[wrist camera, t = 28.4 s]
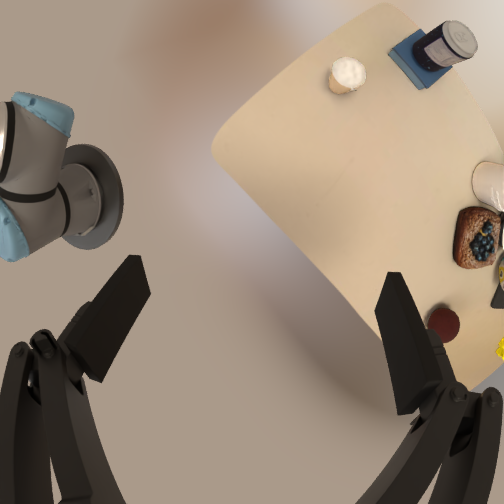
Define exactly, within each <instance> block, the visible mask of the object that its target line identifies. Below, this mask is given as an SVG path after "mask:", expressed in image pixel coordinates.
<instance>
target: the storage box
mask: <svg viewBox="0 0 504 504" xmlns="http://www.w3.org/2000/svg"><path fill="white" fill-rule="evenodd" d="M425 35H426V34H425V33H424V32H423V31H422V29H419V30H418V31H416V32H415V33H413V34H412V35H410V36H409V37H408V38H406V39H405V40H403V41H402V42H401V43H399V44H398V45H396V46H395V47H394V48H392V49H393V50H392V51H391V52H390V53H389V54H388V55H389V56H390V57H391V58H392V59H393V60H394V61H395V62H396V63H397V65H398V66H399V67H400V68H401V69H402V70H403V71H404V72H405V74H406V75H407V76H408V77H409V78H410V80H411V81H412V82H413V83H414V84H415V86H416V87H417V88H418V89H419V90H420V89H422V88H426V89H427V88H429V87H430V86H431V85H432V84H433V83H435V82H436V81H437V80H438V79H439V78H440V77H441V76H443V75H444V74H445V73H446V72H447V71H448V70H450V69H451V68H452V65H451V66H448V67H446V68H443V69H441V70H439V71H436V72H431V71H428V70H426V69H424V68H423V67H422V66H421V65H419V63H418V62H417V61H416V59H415V57H414V55H413V51H412V47H413V44H414V43H415V42H416V41H418V40H419V39H420V38H422V37H423V36H425Z"/></svg>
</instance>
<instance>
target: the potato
mask: <svg viewBox="0 0 504 504" xmlns="http://www.w3.org/2000/svg"><path fill="white" fill-rule="evenodd" d="M459 328H460V322H459V317H458V316H457V315H456V313H455V312H454V311H452V310H450V309H445V308H441V309H438V310H435V311H434V312H433V313H432V314H431V316H430V318H429V321H428V329H434V330H435V331H436V333H437V334H438V335H439V336H440V338H441V340H442V343H447V342H450V341H451V340H453V339H454V338H455V337H456V336H457V334H458V332H459Z"/></svg>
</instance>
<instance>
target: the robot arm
mask: <svg viewBox="0 0 504 504" xmlns="http://www.w3.org/2000/svg"><path fill="white" fill-rule="evenodd" d="M11 100H12V101H11V102H0V257H2V258H3V259H4V260H6V261H8V262H15V261H17V260H19V259H21V258H23V257H27V256H29V255H30V254H31V253H33V252H35V251H37V250H38V249H40V248H42V247H43V246H45V245H47V244H48V243H50V242H52V241H54V240H55V239H57V238H59V237H61V236H73V235H74V236H79V235H81V236H84V235H86V234H87V233H88V232H90V231H92V230H93V229H94V228H95V227H96V226H97V225H98V223H99V222H100V220H101V217H102V214H103V209H104V195H103V189H102V186H101V183H100V181H99V179H98V177H97V175H96V174H95V172H94V171H93V170H92V169H91V168H90V167H88V166H87V165H85V164H82V163H73V164H68V165H65V166H64V167H62V168H61V165H62V161H63V157H64V153H65V149H66V146H67V142H68V138H70V136H71V135H70V131H71V127H72V124H73V120H74V112H73V110H72V108H70V107H69V106H67V105H65V104H62V103H59V102H57V101H54V100H51V99H48V98H45V97H41V96H38V95H34V94H30V93H25V92H15V94H14V96H13V97H12V98H11ZM150 295H151V292H150V289H149V286H148V282H147V278H146V274H145V271H144V267H143V263H142V259H141V256H139V255H129V256H128V257H127V258H126V259H125V260H124V262H123V263H122V264H121V265H120V266H119V268H118V269H117V270H116V271H115V272H114V274H113V275H112V276H111V277H110V279H109V280H108V281H107V283H106V284H105V285H104V286H103V288H102V289H101V290H100V292H99V293H98V294H97V295H96V297H95V298H94V300H93V301H92V302H89V301H88V302H87V303H85V304H84V305H83V306H81V307H80V309H79V310H78V311H77V313H76V314H75V316H74V317H73V318H72V319H71V322H69V323H68V325H67V326H66V328H65V329H64V330H63V332H62V333H61V335H60V336H59V338H58V339H57V341H56V339H55V338H54V336H53V335H52V333H51V332H50V331H49V330H47V329H42V330H39V331H37V332H36V333H35V334H34V335H33V336H32V338H31V339H30V343H29V344H30V345H31V347H32V348H33V349H30V347H29V346H28V344H27V343H25V342H18V343H17V344H15V345H14V346H13V348H12V349H11V351H10V355H9V358H8V362H7V366H6V370H5V374H4V378H3V383H2V388H1V392H0V504H54V500H53V493H52V482H51V471H50V470H51V469H50V457H51V461H52V465H53V469H54V473H55V476H56V480H57V483H58V486H59V489H60V492H61V496H62V500H61V501H60V502H59V503H58V504H126V503H125V501H124V499H123V497H122V494H121V492H120V490H119V488H118V486H117V483H116V481H115V479H114V476H113V474H112V472H111V469H110V466H109V464H108V461H107V459H106V456H105V453H104V450H103V447H102V445H101V442H100V439H99V436H98V433H97V429H96V426H95V422H94V419H93V415H92V412H91V408H90V404H89V400H88V396H87V391H86V387H85V382H84V379H83V378H82V375H83V373H84V372H85V373H86V375H87V376H88V377H89V379H92V380H95V381H97V382H100V383H102V381H103V379H104V378H105V376H106V374H107V372H108V370H109V368H110V366H111V364H112V362H113V360H114V358H115V357H116V355H117V353H118V351H119V349H120V347H121V345H122V343H123V342H124V340H125V338H126V336H127V334H128V333H129V331H130V329H131V327H132V326H133V324H134V322H135V320H136V318H137V317H138V315H139V314H140V312H141V310H142V308H143V307H144V305H145V303H146V301H147V300H148V298H149V297H150ZM375 315H376V319H377V322H378V326H379V330H380V334H381V337H382V341H383V345H384V349H385V354H386V358H387V362H388V367H389V372H390V376H391V381H392V386H393V391H394V396H395V402H396V408H397V414H398V415H405V414H412V413H414V412H415V410H416V409H417V408H418V407H419V410H420V414H419V415H418V416H417V417H416V418H415V419H414V420H413V421H412V422H411V423H410V425H412V424H413V423H414V424H413V426H412V427H411V429H410V430H409V432H408V434H407V435H406V437H405V438H404V440H403V442H402V443H401V445H400V446H399V448H398V449H397V451H396V452H395V454H394V455H393V457H392V458H391V460H390V461H389V462H388V464H387V465H386V467H385V468H384V469H383V471H382V472H381V473H380V474H379V476H378V477H377V478H376V480H375V481H374V482H373V483H372V485H371V486H370V487H369V488H368V490H367V491H366V492H365V493H364V494H363V496H362V497H361V498H360V499H359V500H358V501H357V502H356V503H355V504H417V503H418V502H419V500H420V499H421V497H422V496H423V494H424V493H425V491H426V490H427V488H428V486H429V485H430V483H431V481H432V479H433V478H434V476H435V474H436V473H437V471H438V469H439V467H440V465H441V463H442V465H441V468H440V471H439V474H438V478H437V481H436V484H435V486H434V489H433V492H432V495H431V498H430V500H429V502H428V504H487V501H488V498H489V494H490V491H491V486H492V483H493V478H494V474H495V469H496V463H497V458H498V451H499V444H500V435H501V426H502V410H503V400H502V396H501V394H500V392H499V391H498V390H497V389H495V388H494V387H489V388H487V389H486V390H485V391H484V392H483V393H482V394H481V393H475V392H469V391H468V390H467V388H466V386H464V385H463V384H462V383H460V382H457V381H456V378H455V375H454V372H453V370H452V367H451V364H450V361H449V358H448V356H447V355H446V350H445V348H444V347H443V346H444V345H443V343H442V340H441V338H440V336H439V335H438V334H437V333H436V331H435V330H434V329H425V326H424V324H423V321H422V319H421V316H420V314H419V312H418V309H417V307H416V305H415V302H414V300H413V298H412V296H411V294H410V291H409V289H408V287H407V285H406V283H405V281H404V279H403V276H402V274H401V272H388V273H387V276H386V279H385V282H384V285H383V288H382V291H381V294H380V297H379V300H378V302H377V305H376V308H375ZM28 380H29V381H30V382H31V383H30V386H28Z"/></svg>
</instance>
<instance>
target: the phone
mask: <svg viewBox="0 0 504 504" xmlns="http://www.w3.org/2000/svg"><path fill="white" fill-rule="evenodd" d="M491 307H492V308H496V309H504V290H503V289H502V287H501V285H500V283H499V286H498V288H497V291H496V293H495V296H494V298H493V300H492V303H491Z"/></svg>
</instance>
